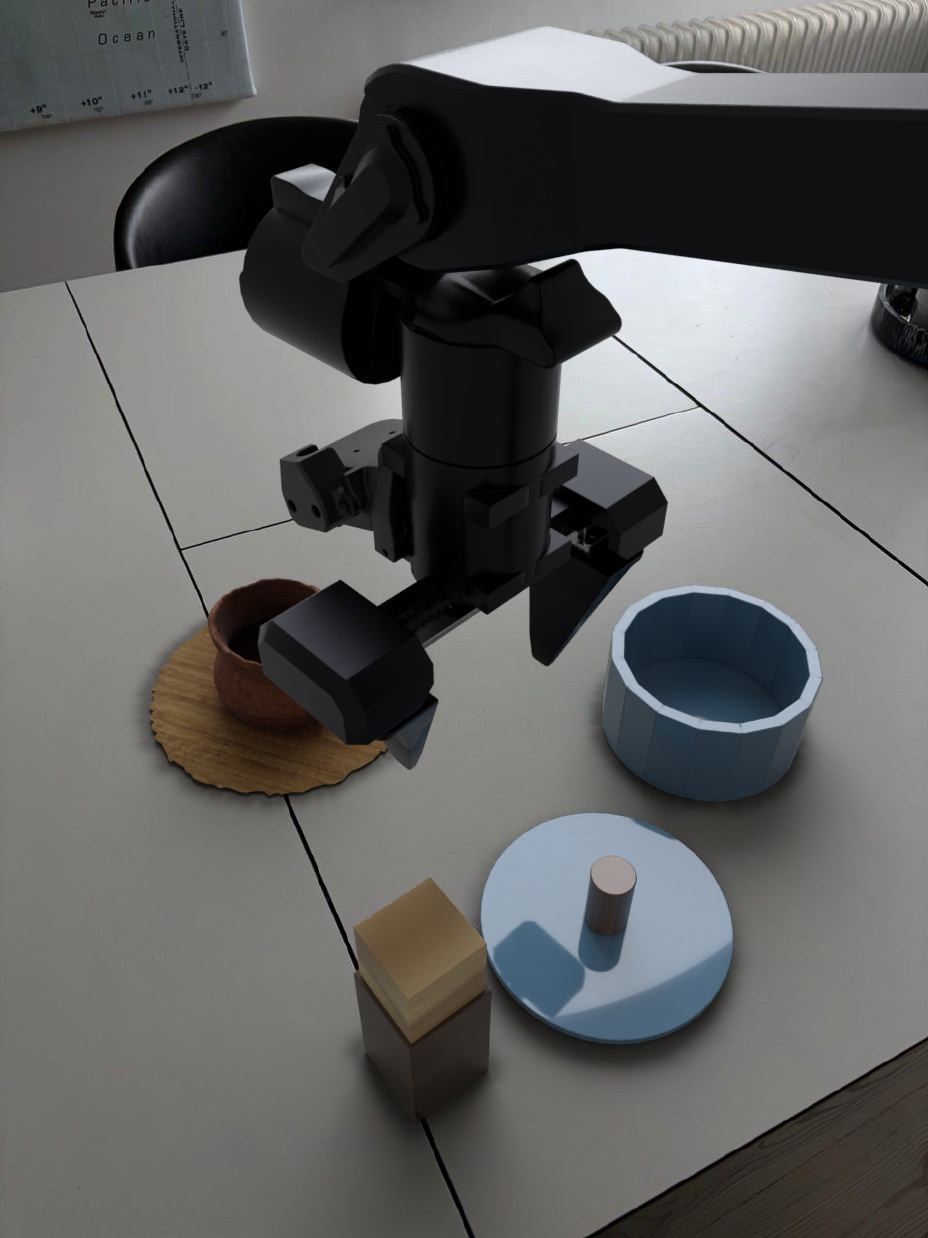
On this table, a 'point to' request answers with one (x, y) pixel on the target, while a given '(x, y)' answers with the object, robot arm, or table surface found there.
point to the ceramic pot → (245, 705)
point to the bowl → (708, 692)
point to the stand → (426, 1051)
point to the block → (421, 958)
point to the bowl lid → (606, 928)
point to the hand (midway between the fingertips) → (476, 709)
